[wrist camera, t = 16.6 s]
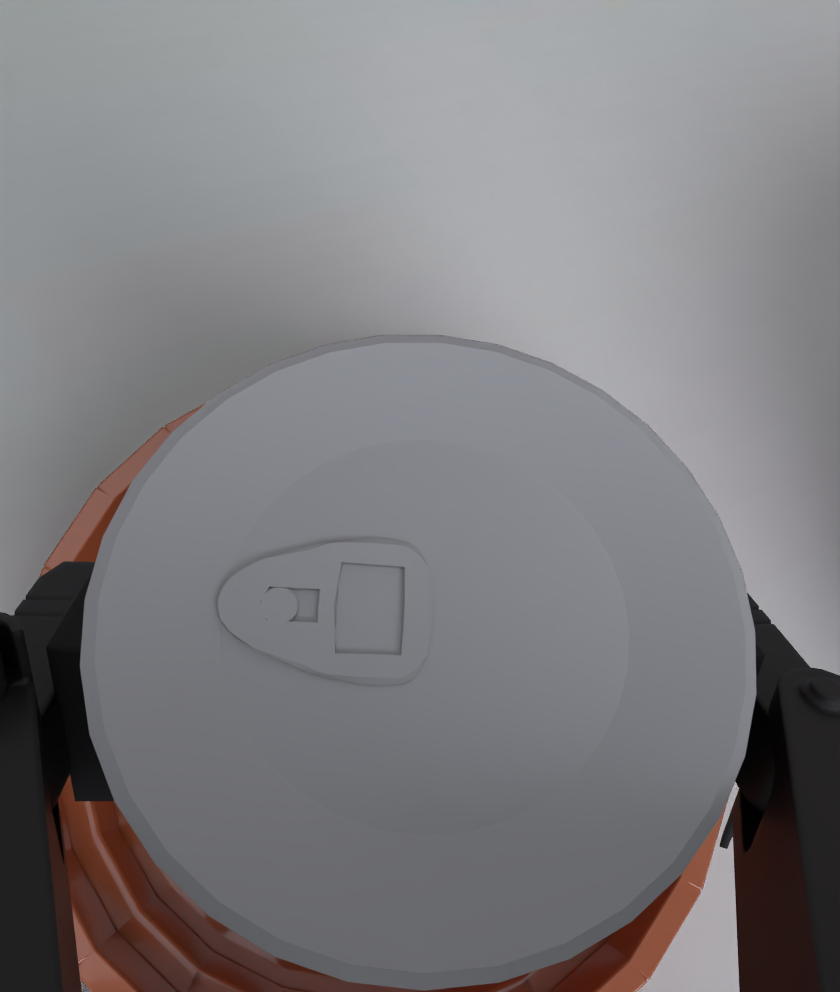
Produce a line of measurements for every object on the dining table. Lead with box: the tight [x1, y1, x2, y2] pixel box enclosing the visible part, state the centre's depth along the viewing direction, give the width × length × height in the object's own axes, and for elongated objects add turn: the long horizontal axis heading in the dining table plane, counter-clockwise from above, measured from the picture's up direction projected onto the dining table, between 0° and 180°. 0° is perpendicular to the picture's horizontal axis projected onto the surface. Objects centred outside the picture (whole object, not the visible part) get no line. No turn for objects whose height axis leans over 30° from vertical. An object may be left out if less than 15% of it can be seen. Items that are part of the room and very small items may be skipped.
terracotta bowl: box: [40, 403, 729, 992], centre depth 19 cm, size 17×17×3 cm
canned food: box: [80, 335, 756, 991], centre depth 14 cm, size 8×8×11 cm
